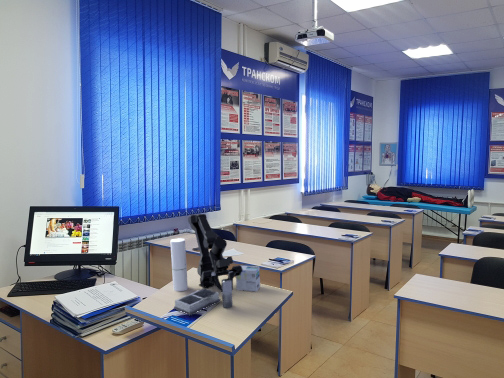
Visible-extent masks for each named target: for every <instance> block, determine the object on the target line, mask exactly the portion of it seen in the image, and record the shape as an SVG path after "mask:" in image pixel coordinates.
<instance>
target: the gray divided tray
mask: <svg viewBox="0 0 504 378" xmlns="http://www.w3.org/2000/svg"><path fill="white" fill-rule="evenodd" d="M221 299H222V298H220V293H219V292H217V291H214V290H211V289H208V288H205V287H202V288H201V289H198V290H197V291H193V292H192V293H189V294H187V295H184V296H182V297H180V298H177V299H175V300H174V307H173V309H174V310H175V309H176V310H175V311H178V312H180V311H182V312H185V313H187V314H189V315H188V316H190V315H191V316H193V315H195V314H197V313H198V312H197V311H199V312H201V311H203V310H204V309H203V308H206V307H208V306H210V305H212V304H214V303H216V304H218V303H220V302H221ZM214 305H215V304H214ZM212 306H213V305H212ZM210 307H211V306H210ZM208 308H209V307H208ZM202 309H203V310H202ZM206 309H207V308H206ZM200 310H201V311H200ZM182 312H181V313H182ZM196 312H197V313H196ZM185 313H184V314H185ZM194 313H195V314H194ZM187 314H186V315H187ZM192 314H193V315H192Z"/></svg>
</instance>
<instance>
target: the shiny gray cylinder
mask: <svg viewBox="0 0 504 378" xmlns="http://www.w3.org/2000/svg"><path fill="white" fill-rule="evenodd" d="M221 287H222V292H221V295H222V298H221V299H222V308H223V309H225V310H226V309H227V310H229V309H232V308H233V307H234V305H233V290H232V280H231V279H227V278H223V279H221Z"/></svg>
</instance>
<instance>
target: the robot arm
mask: <svg viewBox="0 0 504 378" xmlns="http://www.w3.org/2000/svg"><path fill="white" fill-rule="evenodd" d="M187 222H188V225H189V226H190V228H191V229H192V230H193V231H194V234H195V238H196V242H197V246H198V252H199V256H200V259H199V261H198V266H197V268H196V269H197V274H198V276H199V284H198V286H199V287H202V288H206V289H208V288H211V287H213V286H215V287H216V288H217V289H218V290H219V292H220V293H222V283H221V282H220V279H219V277H221V276H225V275H227V276H228V277H227V278H226V279H231V280H232V291H233V289H234V288H233V285H234V278H235V277H236V276H239V275H240V274H241V272H242V270H243V269H242V266H243V265H241V264H238V265H233V266H232V268H230V269H229V267H230V266H231V264H234V260H233V256H232V255H231V256H227V257H226V258H225V257H224V255H223V254H224V252H225V250H226V249H227V245H228V244H227V240H225V239H224V238H221V236H220V235H218V234H217V233H216V232H215V231H213V229H212V227H211V226H210V222H209V221H208V219H207V214H206V213H197V214H190V215H189V217H188V218H187ZM240 265H241V266H240Z"/></svg>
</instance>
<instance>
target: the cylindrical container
mask: <svg viewBox="0 0 504 378" xmlns="http://www.w3.org/2000/svg"><path fill="white" fill-rule="evenodd" d="M169 243H170V255H171V270H172V271H171V272H172V273H171V274H172V287H173V288H172V290H173V291H174V292H183V291H186V290H188V288H189V286H188V285H189V284H188V270H187V268H188V265H187V253H186V239H185V238H183V237H182V238H181V237H179V238H172V239H170V241H169Z"/></svg>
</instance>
